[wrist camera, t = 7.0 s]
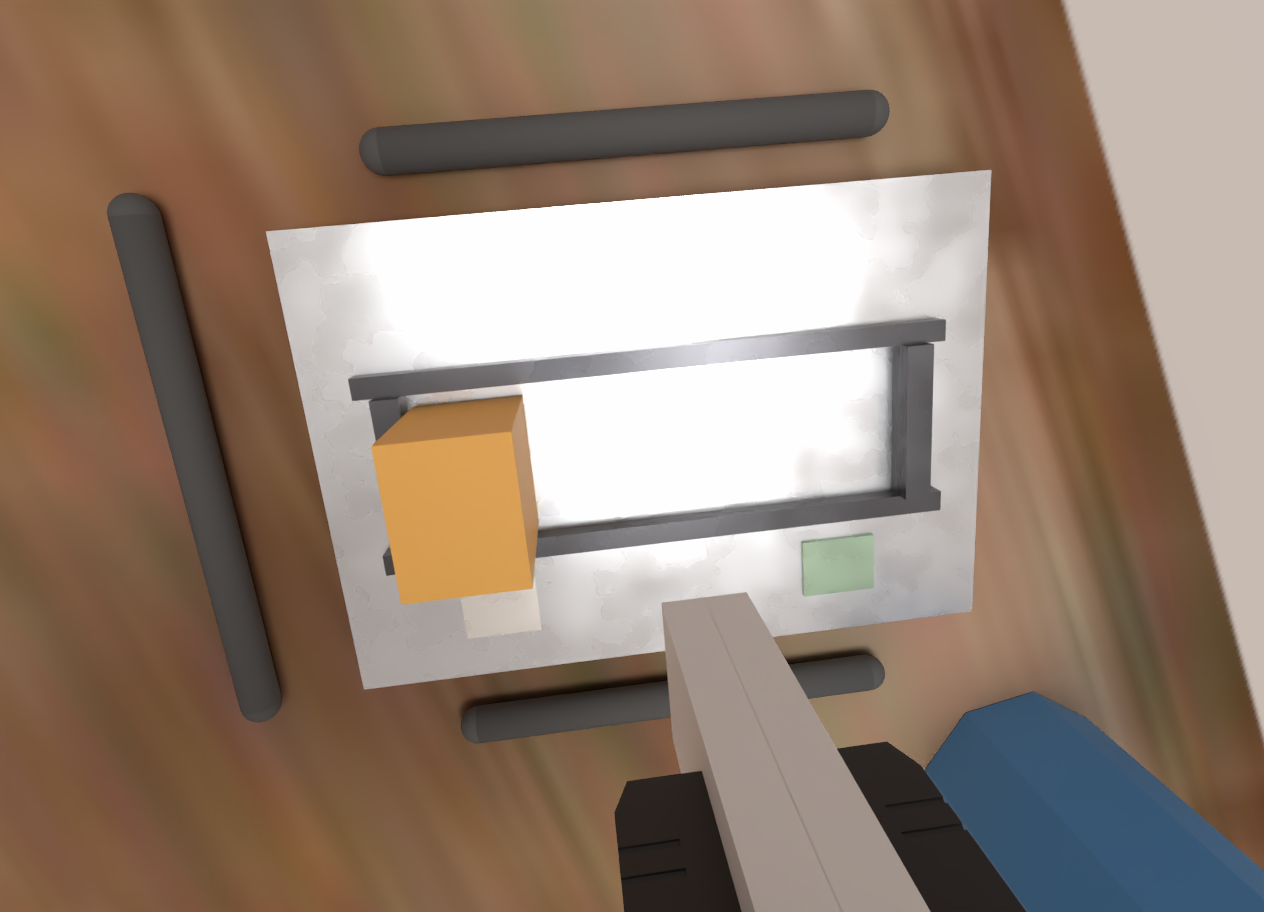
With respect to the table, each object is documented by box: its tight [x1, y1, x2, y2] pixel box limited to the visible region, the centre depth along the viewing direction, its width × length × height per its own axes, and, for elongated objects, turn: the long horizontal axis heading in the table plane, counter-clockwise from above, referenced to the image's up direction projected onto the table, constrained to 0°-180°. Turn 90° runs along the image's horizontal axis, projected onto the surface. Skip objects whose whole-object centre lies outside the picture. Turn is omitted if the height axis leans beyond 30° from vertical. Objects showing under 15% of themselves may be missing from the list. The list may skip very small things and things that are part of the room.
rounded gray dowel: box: [107, 193, 282, 722], centre depth 28 cm, size 22×2×2 cm, turn 5°
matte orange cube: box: [371, 395, 539, 605], centre depth 24 cm, size 4×5×6 cm
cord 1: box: [359, 90, 889, 175], centre depth 26 cm, size 20×2×2 cm, turn 95°
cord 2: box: [461, 655, 885, 743], centre depth 33 cm, size 20×2×2 cm, turn 95°
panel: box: [266, 170, 991, 690], centre depth 28 cm, size 26×18×4 cm
